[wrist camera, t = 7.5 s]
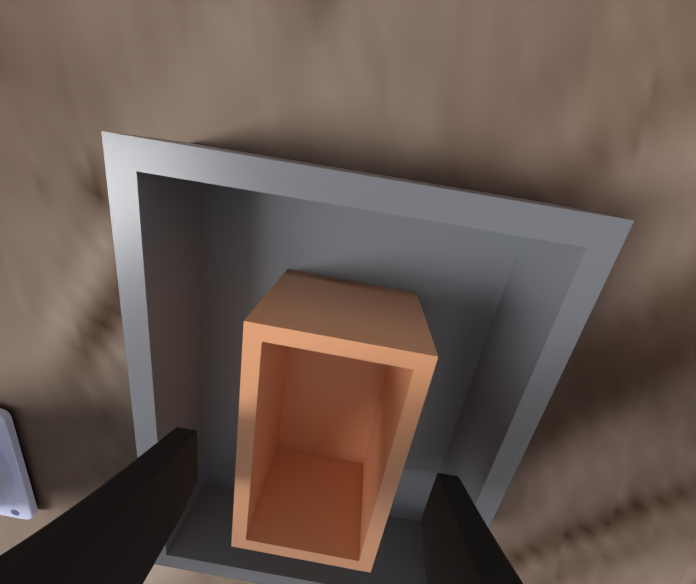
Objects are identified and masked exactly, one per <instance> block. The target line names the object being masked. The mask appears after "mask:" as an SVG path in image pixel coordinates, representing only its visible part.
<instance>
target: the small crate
mask: <svg viewBox="0 0 696 584" xmlns="http://www.w3.org/2000/svg"><path fill="white" fill-rule="evenodd" d="M437 360H438V354H437V351H436V348H435V345H434V342H433V339H432V337H431V334H430V331H429V328H428V325H427V322H426V319H425V316H424V313H423V310H422V307H421V304H420V301H419V298H418V295H417V293H416V292H410V291H405V290H399V289H394V288H388V287H383V286H377V285H372V284H366V283H361V282H355V281H350V280H344V279H339V278H333V277H328V276H322V275H317V274H311V273H306V272H301V271H295V270H290V269H287V270H286V271H285V272H284V274H283V275H282V276H281V277H280V278H279V280H278V281H277V282H276V283H275V284H274V286H273V287H272V288H271V289H270V290H269V291H268V293H267V294H266V295H265V296H264V297H263V299H262V300H261V301H260V302H259V303H258V305H257V306H256V307H255V308H254V309H253V310H252V312H251V313H250V314H249V315H248V316H247V318H246V319H245V320H244V325H243V343H242V361H241V379H240V397H239V415H238V433H237V452H236V470H235V488H234V506H233V524H232V542H231V546H233V547H238V548H243V549H248V550H254V551H259V552H264V553H270V554H275V555H280V556H285V557H291V558H296V559H301V560H306V561H312V562H317V563H322V564H327V565H333V566H338V567H343V568H349V569H354V570H359V571H364V572H370V573H371V570H372V567H373V563H374V560H375V557H376V554H377V551H378V547H379V544H380V541H381V538H382V535H383V532H384V528H385V525H386V522H387V519H388V516H389V512H390V509H391V506H392V503H393V500H394V497H395V493H396V490H397V487H398V484H399V481H400V477H401V474H402V471H403V468H404V465H405V461H406V458H407V455H408V452H409V449H410V446H411V442H412V439H413V436H414V433H415V430H416V426H417V423H418V420H419V417H420V414H421V411H422V407H423V404H424V401H425V398H426V395H427V391H428V388H429V385H430V382H431V379H432V376H433V372H434V369H435V366H436V363H437Z"/></svg>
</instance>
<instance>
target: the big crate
mask: <svg viewBox="0 0 696 584" xmlns="http://www.w3.org/2000/svg"><path fill="white" fill-rule="evenodd" d="M102 141H103V150H104V159H105V168H106V177H107V186H108V195H109V204H110V213H111V222H112V232H113V241H114V250H115V259H116V268H117V277H118V286H119V295H120V304H121V313H122V323H123V332H124V341H125V350H126V359H127V368H128V377H129V386H130V395H131V404H132V414H133V423H134V432H135V441H136V450H137V458H138V457H139V456H141V455H142V454H143V453H144V452H146V451H147V450H148V449H149V448H151V447H152V446H153V445H154V444H156V443H157V442H158V441H159V440H161V439H162V438H163V437H164V436H166V435H167V434H168V433H169V432H171V431H172V430H173V429H175V428H176V427H180V428H185V429H191V430H197V461H198V481H197V483H196V485H195V487H194V490H193V492H192V494H191V497H190V499H189V501H188V503H187V505H186V507H185V510H184V512H183V514H182V516H181V518H180V520H179V522H178V523H177V525H176V527H175V529H174V531H173V532H172V534H171V536H170V537H169V539H168V541H167V543H166V544H165V546H164V548H163V550H162V551H161V553H160V555H159V557H158V558H157V560H156V562H155V563H154V564H157V565H162V566H168V567H173V568H178V569H184V570H189V571H195V572H200V573H206V574H211V575H217V576H222V577H228V578H233V579H238V580H244V581H249V582H255V583H260V584H427V579H426V573H425V566H424V558H423V544H422V527H421V518H422V515H423V512H424V509H425V507H426V504H427V501H428V498H429V495H430V492H431V490H432V487H433V484H434V481H435V478H436V475H437V473H443V474H449V475H454V476H458V477H459V478H460V480H461V481H462V483H463V485H464V487H465V488H466V490H467V492H468V494H469V496H470V497H471V499H472V501H473V503H474V504H475V506H476V508H477V509H478V511H479V513H480V515H481V516H482V518H483V520H484V521H485V523H486V525H487V527H488V528H489V527H490V525H491V523H492V521H493V518H494V516H495V514H496V512H497V510H498V508H499V506H500V504H501V502H502V499H503V497H504V495H505V493H506V491H507V489H508V487H509V485H510V483H511V480H512V478H513V476H514V474H515V472H516V470H517V468H518V466H519V463H520V461H521V459H522V457H523V455H524V453H525V451H526V449H527V447H528V444H529V442H530V440H531V438H532V436H533V434H534V432H535V430H536V428H537V425H538V423H539V421H540V419H541V417H542V415H543V413H544V411H545V409H546V406H547V404H548V402H549V400H550V398H551V396H552V394H553V392H554V389H555V387H556V385H557V383H558V381H559V379H560V377H561V375H562V373H563V370H564V368H565V366H566V364H567V362H568V360H569V358H570V356H571V354H572V351H573V349H574V347H575V345H576V343H577V341H578V339H579V337H580V335H581V332H582V330H583V328H584V326H585V324H586V322H587V320H588V318H589V315H590V313H591V311H592V309H593V307H594V305H595V303H596V301H597V299H598V296H599V294H600V292H601V290H602V288H603V286H604V284H605V282H606V280H607V277H608V275H609V273H610V271H611V269H612V267H613V265H614V263H615V260H616V258H617V256H618V254H619V252H620V250H621V248H622V246H623V244H624V241H625V239H626V237H627V235H628V233H629V231H630V229H631V227H632V225H633V222H634V220H630V219H625V218H620V217H615V216H610V215H605V214H601V213H596V212H591V211H586V210H581V209H576V208H572V207H567V206H562V205H557V204H552V203H547V202H541V201H535V200H529V199H523V198H517V197H511V196H505V195H499V194H493V193H487V192H481V191H475V190H469V189H463V188H457V187H451V186H445V185H439V184H433V183H427V182H421V181H415V180H409V179H403V178H397V177H391V176H386V175H380V174H374V173H368V172H362V171H356V170H350V169H344V168H338V167H332V166H326V165H320V164H314V163H308V162H302V161H296V160H290V159H284V158H278V157H272V156H266V155H260V154H254V153H248V152H242V151H236V150H230V149H224V148H218V147H212V146H206V145H200V144H194V143H188V142H181V141H173V140H165V139H158V138H150V137H142V136H135V135H127V134H119V133H111V132H104V131H102ZM287 269H290V270H295V271H301V272H306V273H311V274H317V275H322V276H328V277H333V278H339V279H344V280H350V281H355V282H361V283H366V284H372V285H377V286H383V287H388V288H394V289H399V290H405V291H410V292H416V293H417V295H418V298H419V301H420V304H421V307H422V310H423V313H424V316H425V319H426V322H427V325H428V328H429V331H430V334H431V337H432V339H433V342H434V345H435V348H436V351H437V354H438V360H437V363H436V366H435V369H434V372H433V376H432V379H431V382H430V385H429V388H428V391H427V395H426V398H425V401H424V404H423V407H422V411H421V414H420V417H419V420H418V423H417V426H416V430H415V433H414V436H413V439H412V442H411V446H410V449H409V452H408V455H407V458H406V461H405V465H404V468H403V471H402V474H401V477H400V481H399V484H398V487H397V490H396V493H395V497H394V500H393V503H392V506H391V509H390V512H389V516H388V519H387V522H386V525H385V528H384V532H383V535H382V538H381V541H380V544H379V547H378V551H377V554H376V557H375V560H374V563H373V567H372V570H371V573H370V572H364V571H359V570H354V569H349V568H343V567H338V566H333V565H327V564H322V563H317V562H312V561H306V560H301V559H296V558H291V557H285V556H280V555H275V554H270V553H264V552H259V551H254V550H248V549H243V548H238V547H233V546H231V542H232V524H233V506H234V488H235V470H236V452H237V433H238V415H239V397H240V379H241V361H242V343H243V325H244V320H245V319H246V318H247V316H248V315H249V314H250V313H251V312H252V310H253V309H254V308H255V307H256V306H257V305H258V303H259V302H260V301H261V300H262V299H263V297H264V296H265V295H266V294H267V293H268V291H269V290H270V289H271V288H272V287H273V286H274V284H275V283H276V282H277V281H278V280H279V278H280V277H281V276H282V275H283V274H284V272H285V271H286V270H287Z"/></svg>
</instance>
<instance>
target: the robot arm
mask: <svg viewBox="0 0 696 584" xmlns="http://www.w3.org/2000/svg"><path fill="white" fill-rule="evenodd" d="M197 481H198V461H197V430H191V429H185V428H180V427H176V428H175V429H173V430H172V431H171V432H169V433H168V434H167V435H166V436H164V437H163V438H162V439H161V440H159V441H158V442H157V443H156V444H154V445H153V446H152V447H151V448H149V449H148V450H147V451H146V452H144V453H143V454H142V455H141V456H139V457H138V458H137V459H136V460H134V461H133V462H132V463H130V464H129V465H128V466H127V467H125V468H124V469H123V470H121V471H120V472H119V473H117V474H116V475H115V476H114V477H112V478H111V479H110V480H108V481H107V482H106V483H104V484H103V485H102V486H100V487H99V488H98V489H96V490H95V491H94V492H92V493H91V494H90V495H88V496H87V497H86V498H84V499H83V500H81V501H80V502H79V503H77V504H76V505H74V506H73V507H71V508H70V509H69V510H67V511H66V512H64V513H63V514H62V515H60V516H59V517H57V518H56V519H55V520H53V521H52V522H50V523H49V524H47V525H46V526H44V527H43V528H42V529H40V530H39V531H37V532H36V533H34V534H33V535H31V536H30V537H28V538H27V539H25V540H24V541H22V542H21V543H19V544H17V545H16V546H14V547H13V548H11V549H10V550H8V551H7V552H5V553H3V554H2V555H0V584H143V582H144V581H145V579H146V577H147V575H148V574H149V572H150V570H151V569H152V567H153V565H154V563H155V562H156V560H157V558H158V557H159V555H160V553H161V551H162V550H163V548H164V546H165V544H166V543H167V541H168V539H169V537H170V536H171V534H172V532H173V531H174V529H175V527H176V525H177V523H178V522H179V520H180V518H181V516H182V514H183V512H184V510H185V507H186V505H187V503H188V501H189V499H190V497H191V494H192V492H193V490H194V487H195V485H196V483H197ZM37 512H38V508H37V505H36V501H35V498H34V494H33V491H32V487H31V484H30V480H29V476H28V473H27V469H26V466H25V462H24V459H23V455H22V452H21V448H20V445H19V441H18V438H17V434H16V430H15V427H14V423H13V420H12V417H11V415H10V413H9V412H8V411H6V410H4V409H1V408H0V515H5V516H10V517H16V518H21V519H31V518H32V517H33V516H34V515H35V514H36V513H37ZM421 527H422V544H423V558H424V566H425V573H426V579H427V584H523V583H522V581H521V580H520V578H519V577H518V575H517V574H516V572H515V570H514V569H513V567H512V566H511V564H510V562H509V561H508V559H507V558H506V556H505V554H504V553H503V551H502V550H501V548H500V546H499V545H498V543H497V542H496V540H495V538H494V537H493V535H492V533H491V532H490V530H489V528H488V527H487V525H486V523H485V521H484V520H483V518H482V516H481V515H480V513H479V511H478V509H477V508H476V506H475V504H474V503H473V501H472V499H471V497H470V496H469V494H468V492H467V490H466V488H465V487H464V485H463V483H462V481H461V480H460V478H459V477H458V476H454V475H449V474H443V473H437V475H436V478H435V481H434V484H433V487H432V490H431V492H430V495H429V498H428V501H427V504H426V507H425V509H424V512H423V515H422V518H421Z"/></svg>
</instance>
